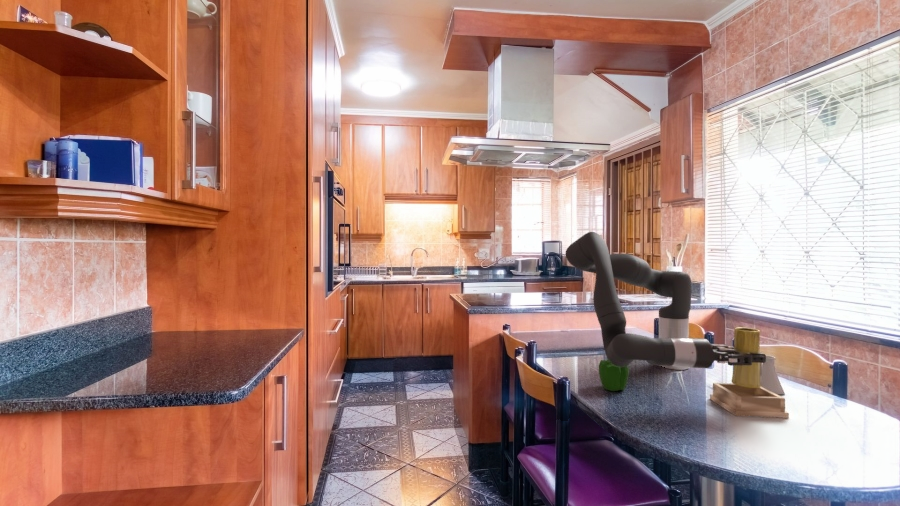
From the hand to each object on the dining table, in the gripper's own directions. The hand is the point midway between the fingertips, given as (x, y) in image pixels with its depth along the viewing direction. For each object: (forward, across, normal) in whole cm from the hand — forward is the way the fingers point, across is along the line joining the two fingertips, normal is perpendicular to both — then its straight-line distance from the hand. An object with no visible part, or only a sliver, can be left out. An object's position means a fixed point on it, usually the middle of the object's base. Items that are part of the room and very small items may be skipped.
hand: (756, 355), depth 106 cm
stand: (-2, 0, +14) cm, 14 cm away
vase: (-3, 0, +8) cm, 8 cm away
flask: (+12, +14, +14) cm, 23 cm away
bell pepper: (-32, +12, +14) cm, 37 cm away
